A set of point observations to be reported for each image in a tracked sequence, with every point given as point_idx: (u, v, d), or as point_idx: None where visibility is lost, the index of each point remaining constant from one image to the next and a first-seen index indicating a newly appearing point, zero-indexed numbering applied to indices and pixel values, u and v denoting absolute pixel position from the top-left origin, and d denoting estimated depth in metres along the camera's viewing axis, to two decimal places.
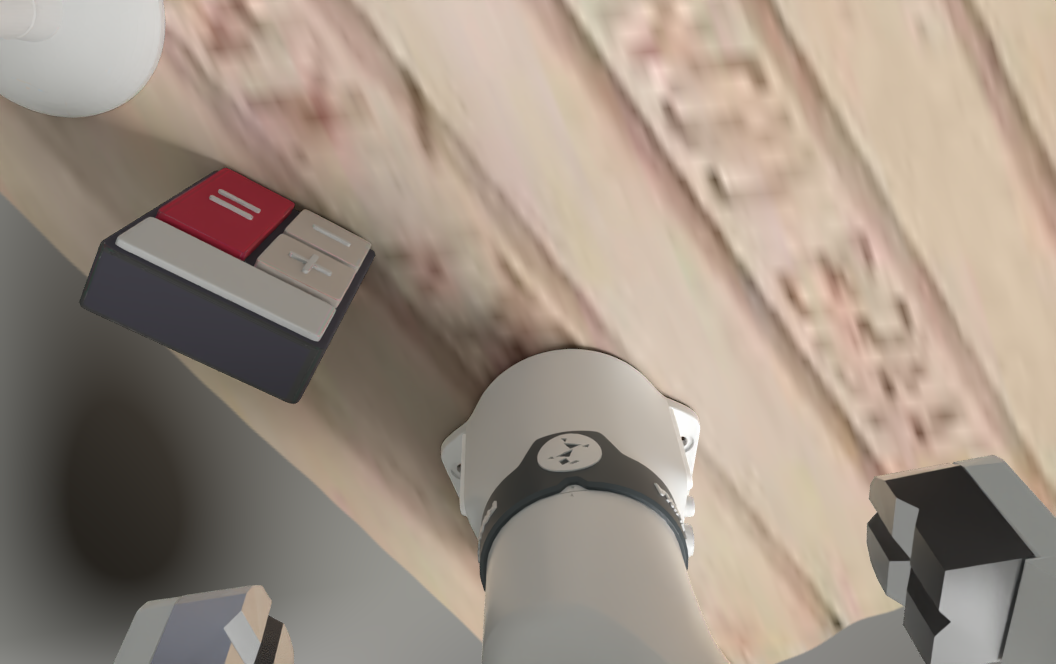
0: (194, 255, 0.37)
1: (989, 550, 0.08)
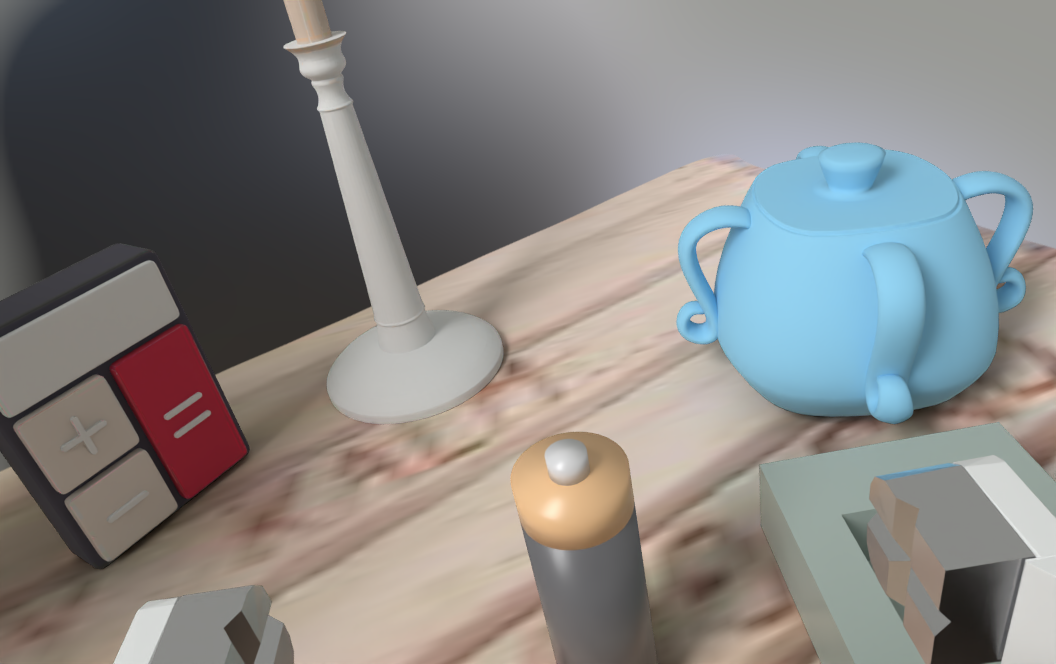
0: (120, 314, 0.41)
1: (989, 550, 0.08)
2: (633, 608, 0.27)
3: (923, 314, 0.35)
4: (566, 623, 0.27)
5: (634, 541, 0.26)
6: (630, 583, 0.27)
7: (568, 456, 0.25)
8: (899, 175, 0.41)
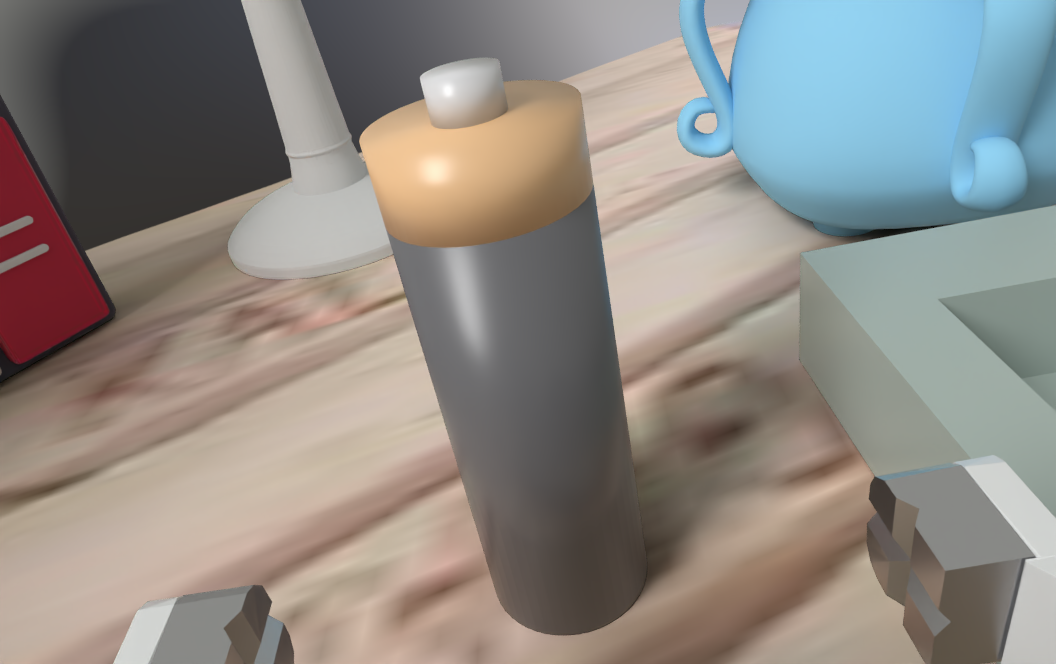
0: None
1: (989, 550, 0.08)
2: (594, 396, 0.15)
3: (1055, 13, 0.22)
4: (475, 423, 0.15)
5: (593, 258, 0.14)
6: (588, 343, 0.15)
7: (462, 71, 0.13)
8: None
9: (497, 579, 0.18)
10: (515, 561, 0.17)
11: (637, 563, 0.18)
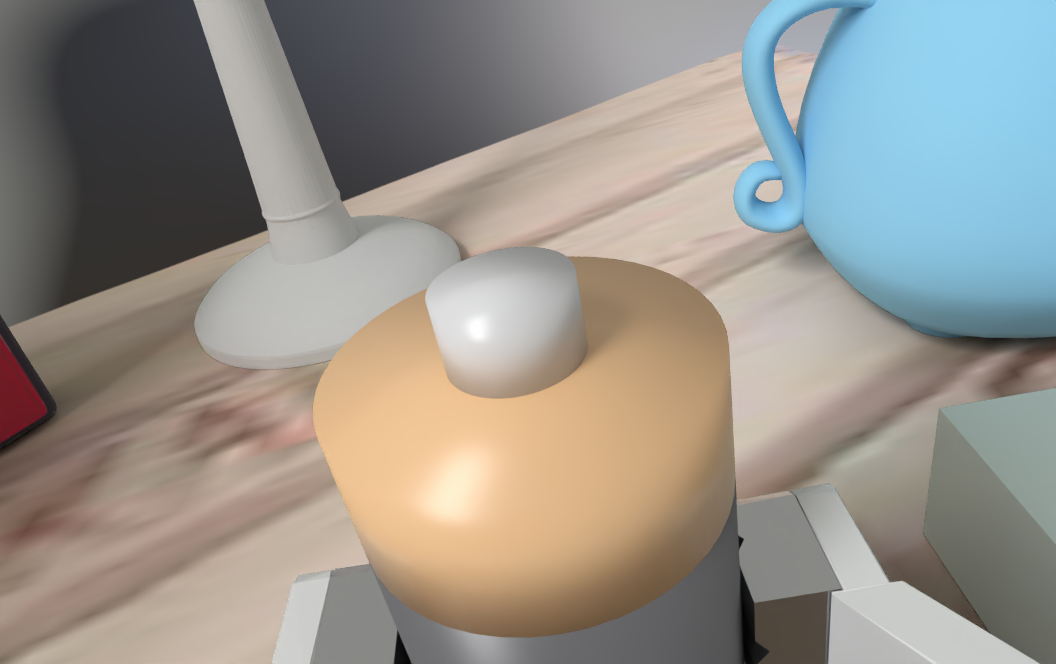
0: None
1: (800, 582, 0.08)
2: None
3: None
4: None
5: (734, 594, 0.08)
6: None
7: (505, 291, 0.07)
8: None
9: None
10: None
11: None
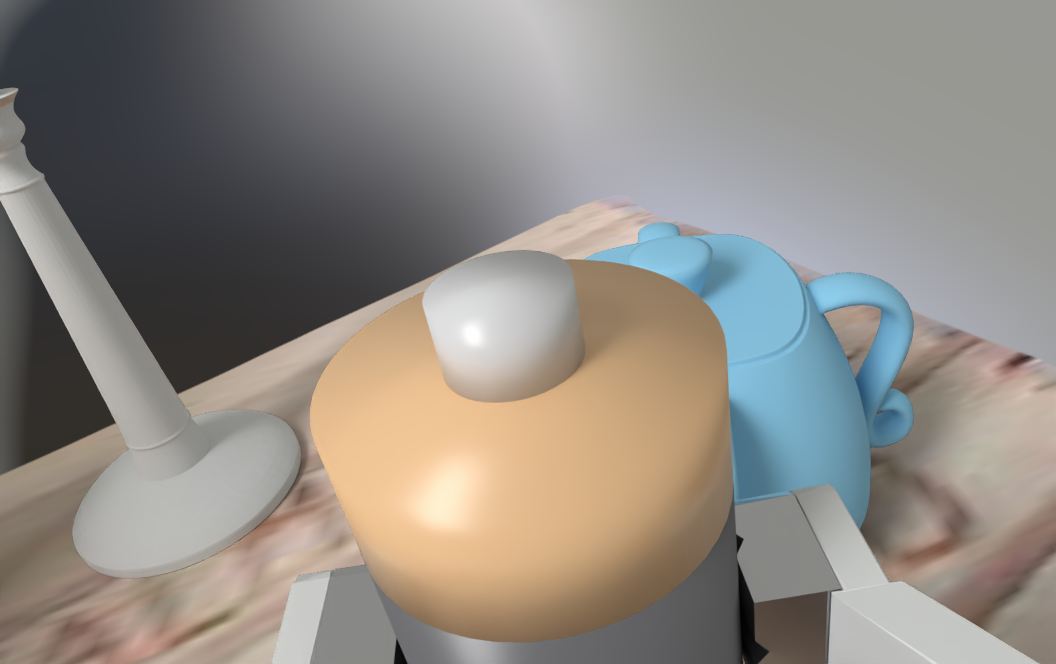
0: None
1: (800, 582, 0.08)
2: None
3: None
4: None
5: (732, 598, 0.08)
6: None
7: (503, 296, 0.07)
8: (739, 277, 0.31)
9: None
10: None
11: None
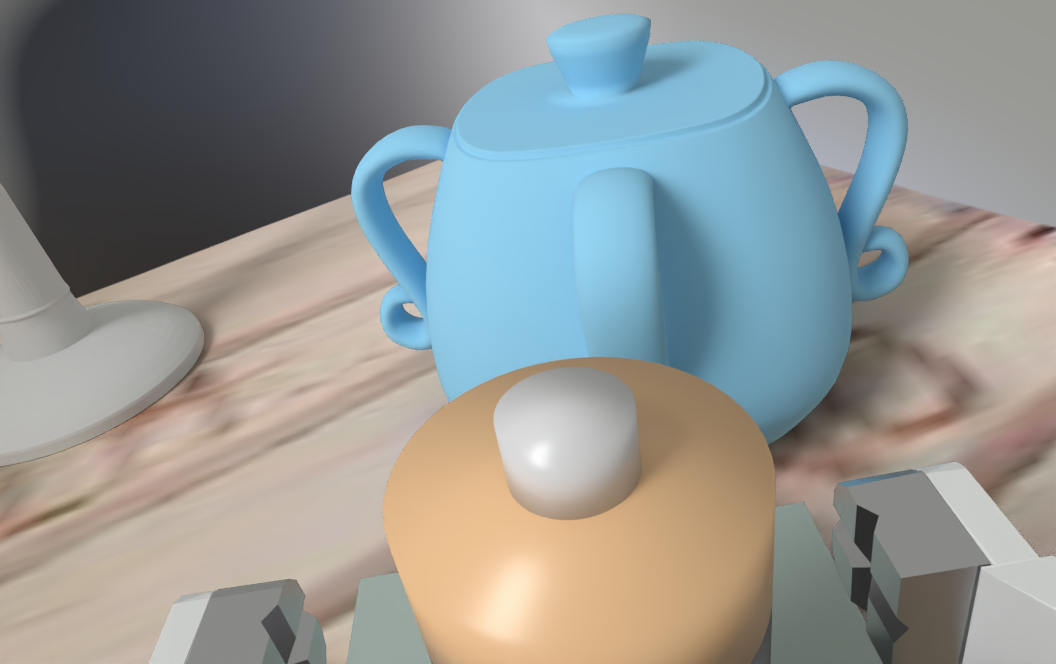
0: None
1: (946, 557, 0.08)
2: None
3: (654, 297, 0.18)
4: None
5: None
6: None
7: (571, 420, 0.07)
8: (689, 69, 0.25)
9: None
10: None
11: None
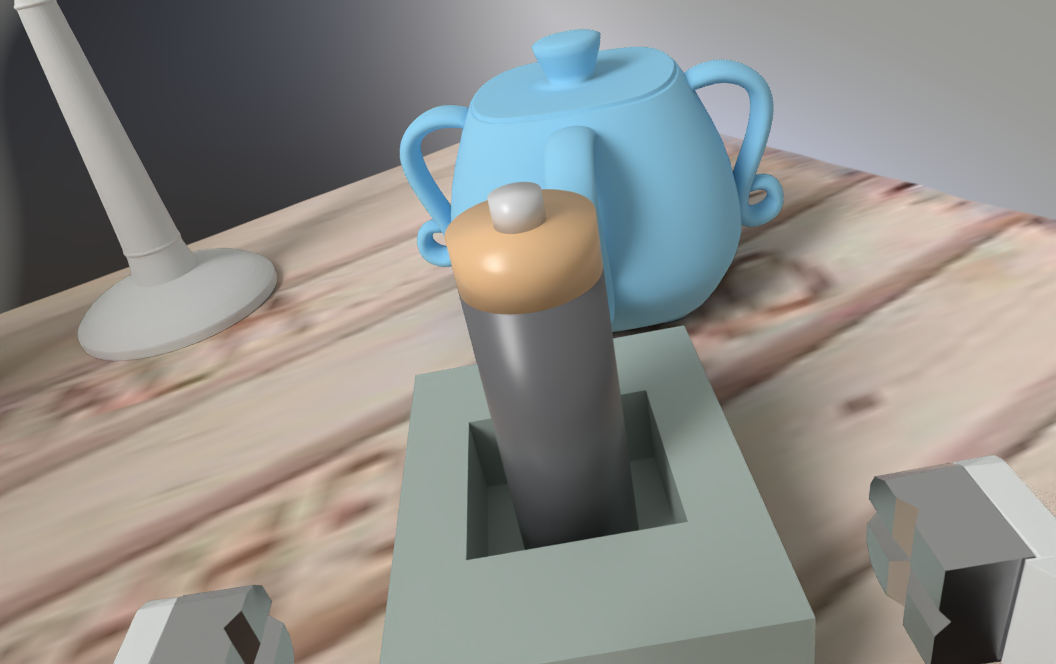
0: None
1: (989, 550, 0.08)
2: (601, 412, 0.22)
3: (592, 200, 0.30)
4: (517, 429, 0.22)
5: (602, 318, 0.21)
6: (597, 376, 0.21)
7: (516, 195, 0.19)
8: (628, 66, 0.37)
9: (527, 541, 0.25)
10: (542, 528, 0.24)
11: None
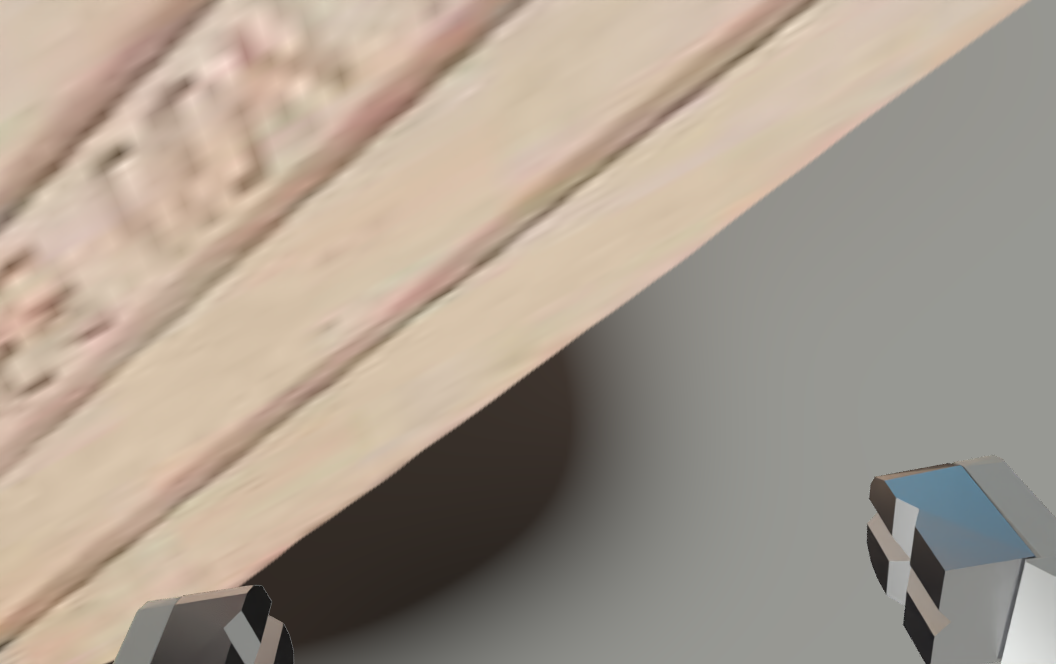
0: None
1: (989, 550, 0.08)
2: None
3: None
4: None
5: None
6: None
7: None
8: None
9: None
10: None
11: None
